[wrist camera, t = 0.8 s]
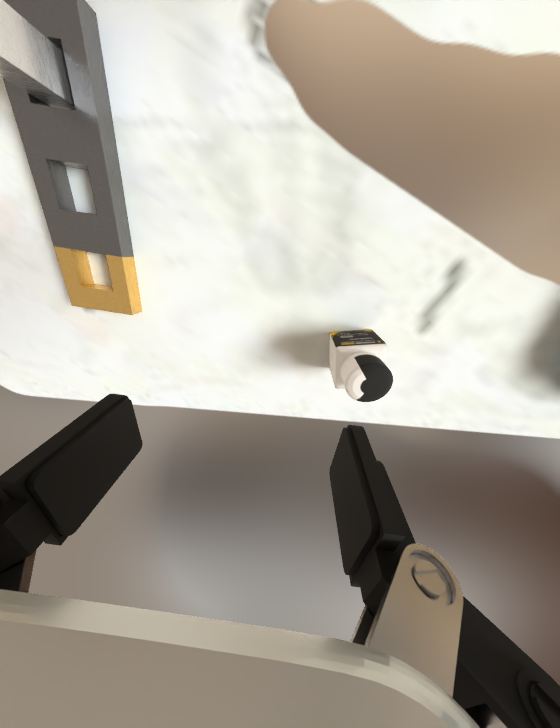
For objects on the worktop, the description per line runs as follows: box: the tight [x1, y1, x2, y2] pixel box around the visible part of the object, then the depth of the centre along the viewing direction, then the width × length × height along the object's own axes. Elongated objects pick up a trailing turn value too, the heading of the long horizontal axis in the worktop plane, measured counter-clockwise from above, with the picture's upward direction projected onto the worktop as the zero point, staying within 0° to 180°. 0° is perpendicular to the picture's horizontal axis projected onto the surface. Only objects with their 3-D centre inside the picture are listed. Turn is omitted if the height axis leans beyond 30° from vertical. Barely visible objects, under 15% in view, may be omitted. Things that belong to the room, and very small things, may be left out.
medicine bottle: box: [329, 330, 393, 402], centre depth 33 cm, size 7×7×12 cm
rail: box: [3, 0, 142, 315], centre depth 29 cm, size 32×10×2 cm, turn 172°
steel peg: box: [0, 0, 76, 110], centre depth 21 cm, size 4×4×10 cm
